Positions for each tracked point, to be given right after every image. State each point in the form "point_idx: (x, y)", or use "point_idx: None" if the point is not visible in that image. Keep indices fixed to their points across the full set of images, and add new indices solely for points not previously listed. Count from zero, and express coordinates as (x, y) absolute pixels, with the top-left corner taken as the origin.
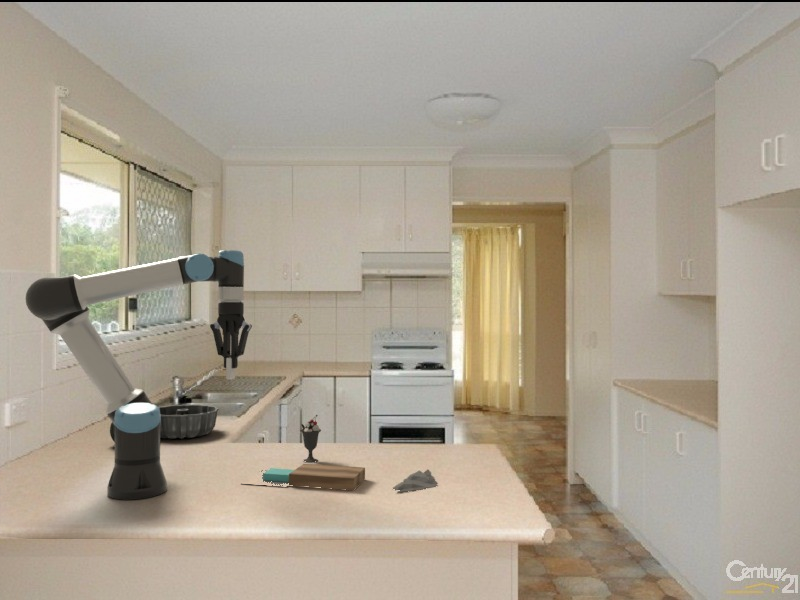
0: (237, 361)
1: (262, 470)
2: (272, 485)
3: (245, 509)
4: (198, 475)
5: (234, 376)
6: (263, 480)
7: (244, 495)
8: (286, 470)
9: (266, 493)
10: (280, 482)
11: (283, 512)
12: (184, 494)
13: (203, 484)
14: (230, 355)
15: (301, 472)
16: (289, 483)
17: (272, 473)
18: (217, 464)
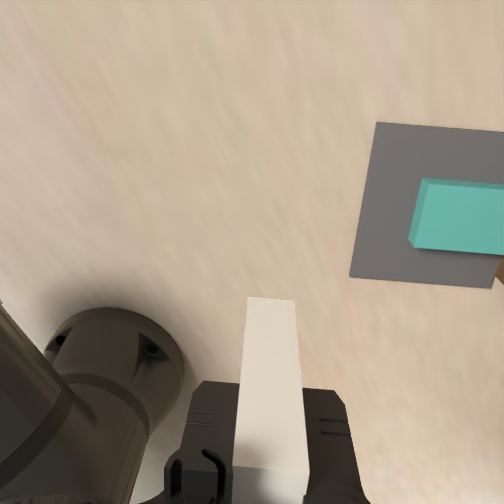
0: (353, 451)
1: (379, 128)
2: (446, 283)
3: (414, 434)
4: (187, 207)
5: (293, 317)
6: (409, 241)
7: (386, 356)
8: (486, 204)
9: (439, 335)
10: (465, 253)
11: (500, 441)
12: (237, 366)
13: (245, 288)
14: (230, 492)
15: None
16: (498, 277)
17: (444, 244)
18: (181, 55)
